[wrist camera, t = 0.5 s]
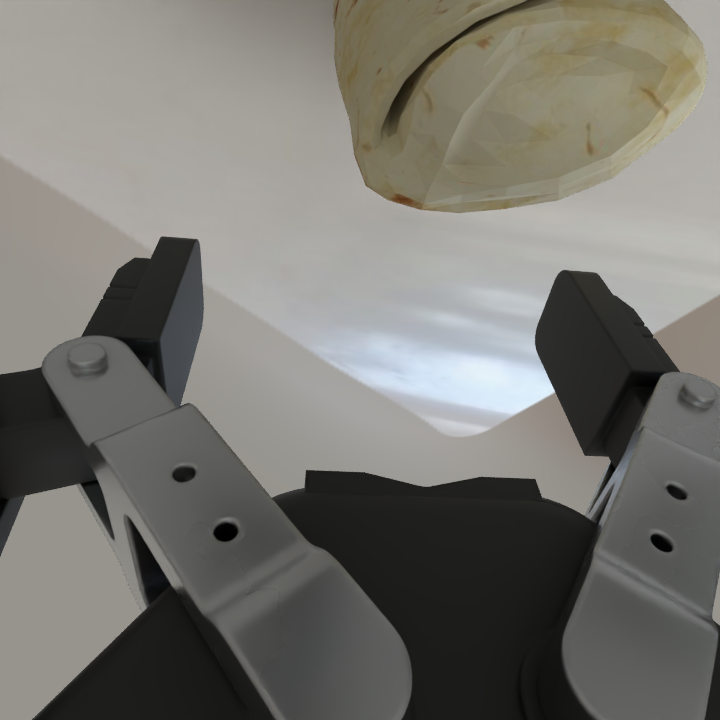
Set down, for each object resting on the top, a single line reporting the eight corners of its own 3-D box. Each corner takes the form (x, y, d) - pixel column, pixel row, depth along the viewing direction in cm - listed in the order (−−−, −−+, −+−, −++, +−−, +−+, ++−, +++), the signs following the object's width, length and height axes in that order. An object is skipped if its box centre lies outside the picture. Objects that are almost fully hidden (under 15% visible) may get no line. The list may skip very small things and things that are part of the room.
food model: (349, 44, 30) (370, 283, 17) (310, -113, 26) (294, 41, 12) (536, -10, 29) (729, 203, 15) (532, -187, 24) (806, -111, 10)
